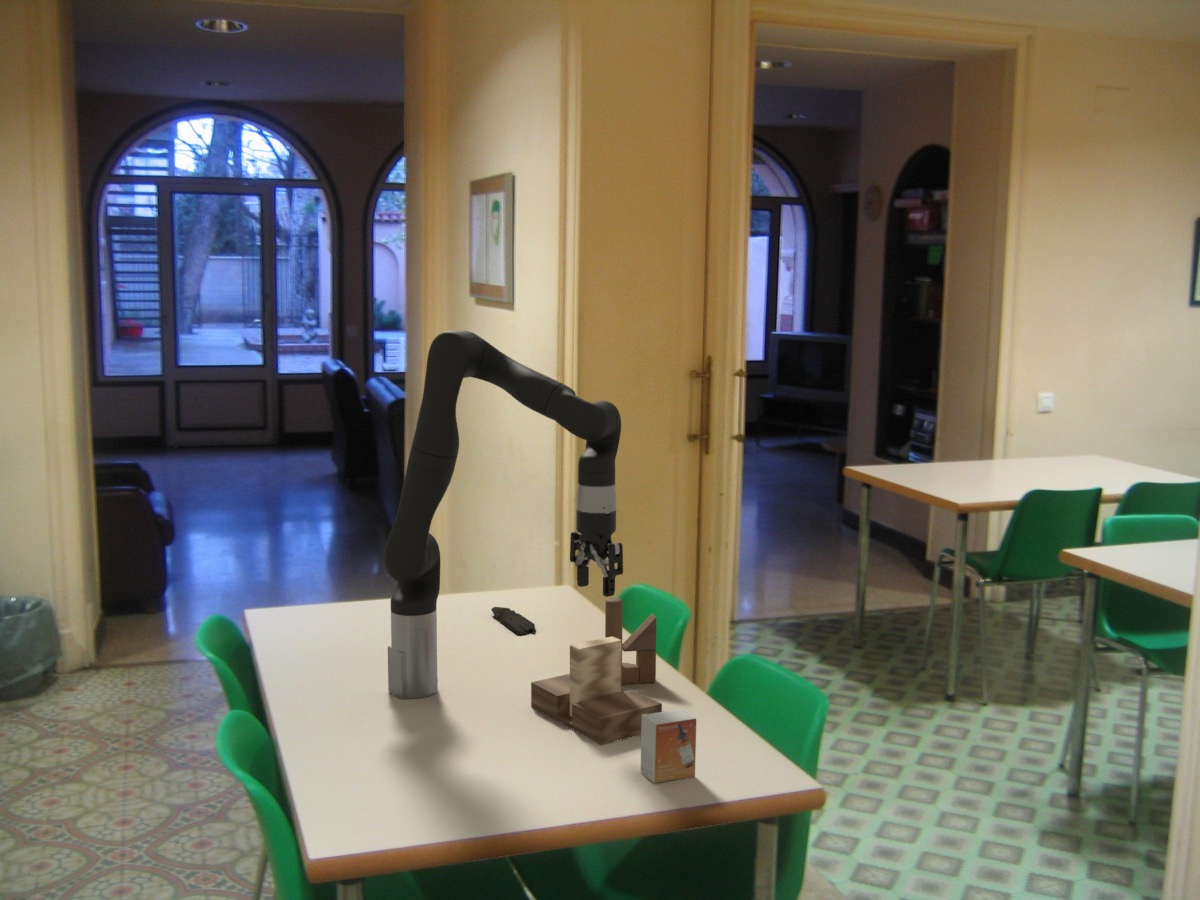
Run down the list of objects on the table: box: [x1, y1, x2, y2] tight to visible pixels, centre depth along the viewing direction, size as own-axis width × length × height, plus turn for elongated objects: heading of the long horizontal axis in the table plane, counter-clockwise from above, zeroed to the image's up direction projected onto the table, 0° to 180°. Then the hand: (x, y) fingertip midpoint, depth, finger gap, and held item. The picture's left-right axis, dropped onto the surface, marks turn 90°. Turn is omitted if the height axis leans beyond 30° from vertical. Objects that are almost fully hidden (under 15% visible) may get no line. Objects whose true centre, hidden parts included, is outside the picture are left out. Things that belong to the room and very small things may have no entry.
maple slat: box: [569, 636, 622, 717], centre depth 228 cm, size 10×3×14 cm, turn 125°
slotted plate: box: [530, 673, 663, 746], centre depth 229 cm, size 14×24×5 cm, turn 35°
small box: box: [640, 708, 697, 784], centre depth 202 cm, size 8×6×10 cm
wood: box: [491, 606, 537, 637], centre depth 293 cm, size 22×7×3 cm, turn 25°
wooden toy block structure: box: [604, 597, 658, 685], centre depth 249 cm, size 4×11×18 cm, turn 102°
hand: (595, 590), depth 226 cm, fingers open, 8 cm apart
